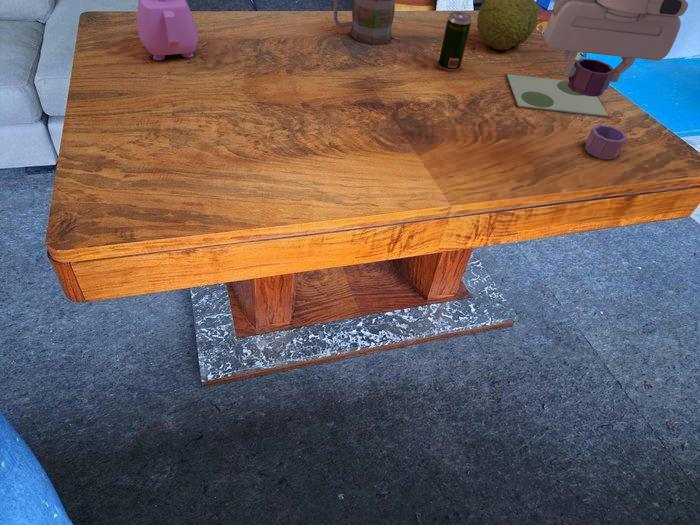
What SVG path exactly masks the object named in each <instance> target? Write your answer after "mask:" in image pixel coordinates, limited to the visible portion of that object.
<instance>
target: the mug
mask: <svg viewBox="0 0 700 525" xmlns="http://www.w3.org/2000/svg"><path fill="white" fill-rule="evenodd" d="M338 7H339V6H338V0H333V20H334V23H335V25H336V26H338V27H340V28H345V27H351V29H350V34H349V35H350V36H351V37H352V38H353V39H354V40H355V41H356V42H359V43H364V44H368V45H380V44H381V45H383V44H387V43H388V42H389V41H390V40H391V39H392V30H393V22H394V17H395V7H396V0H353V3H352V9H351V13H352V14H351V16H352V20H351V21H345V22H340V21H339V19H338Z"/></svg>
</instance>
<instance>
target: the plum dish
mask: <svg viewBox="0 0 700 525" xmlns="http://www.w3.org/2000/svg"><path fill="white" fill-rule="evenodd" d="M574 64H575V65H576V67H577V71H576V73H575V76H574V78H572V77H568V81H569V82H568V87H569V88H570V89H571V90H573V91H574V92H576V93H579V94H581V95H585V96H592V97H601V96H603V95H604V93H605V91H606V90H607V89H608V88H609V86H610V83H611V82H610V81H611V79H612V77H613V75H614V72H615V71H614V69H615V68H614V67H613V66H612V65H610V64H609V63H606V62H604V61H602V60H599V59H594V58H587V57H586V58H585V57H584V58H580V59H577V60H575V61H574ZM613 68H614V69H613Z"/></svg>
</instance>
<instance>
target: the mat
mask: <svg viewBox="0 0 700 525" xmlns="http://www.w3.org/2000/svg"><path fill="white" fill-rule="evenodd" d="M506 78H507V81H508V83H509V87H510V89H511V92H512V95H513V98H514V100H515V103H516V105H517V108H523V109H532V110H539V111H540V110H541V111H549V112H550V111H551V112H560V113H567V114H577V115H585V116H594V117H603V118H609V116H610V115H609V113H608V112H607V111H606V109H605V107H604V105H603V104H602V103H601V101H600V98H598V97H599V96H597V97H592V96H585V95H581V94H579V93H576V92H574V91H573V90H571V89H570V88H569V87H568V82H569V80H563V79H555V78H547V77H546V78H545V77H536V76H528V75H527V76H526V75H519V74H509V73H507V74H506Z"/></svg>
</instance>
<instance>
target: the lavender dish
mask: <svg viewBox="0 0 700 525" xmlns="http://www.w3.org/2000/svg"><path fill="white" fill-rule="evenodd" d="M627 141H628V137H627V135H626V133H625V132H624V131H623V130H621V129H619V128H617V127H615V126H613V125H608V124H607V125H606V124H597V125H595V126H593V127H592V128H591V130H590V132H589V133H588V135H587V138H586V140H585V145H584V149H585V151H586V152H587V153H588V154H589V155H591V156H593V157H595V158H598V159H601V160H609V161H610V160H614V159H616V158H617V157H618V155H619V154H620V153H621V152H622V149H623V147H624V146H625V144H626V142H627Z"/></svg>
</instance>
